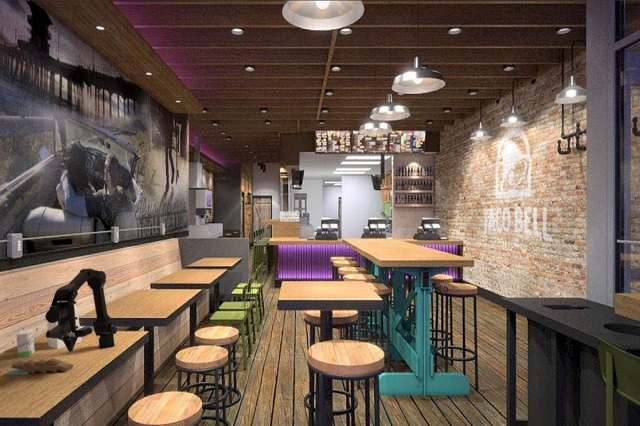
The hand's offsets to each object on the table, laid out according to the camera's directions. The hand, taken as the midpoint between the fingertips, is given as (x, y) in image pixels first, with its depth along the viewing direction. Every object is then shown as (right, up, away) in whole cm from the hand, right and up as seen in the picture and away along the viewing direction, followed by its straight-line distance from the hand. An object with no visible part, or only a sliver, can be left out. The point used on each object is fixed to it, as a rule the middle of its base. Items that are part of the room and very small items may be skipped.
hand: (70, 351), depth 183 cm
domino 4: (-5, -8, 0) cm, 9 cm away
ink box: (-38, -10, +26) cm, 47 cm away
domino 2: (-15, -8, 0) cm, 17 cm away
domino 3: (-9, -8, 0) cm, 12 cm away
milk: (-27, -9, +40) cm, 50 cm away
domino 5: (0, -7, -1) cm, 7 cm away
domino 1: (-17, -9, 0) cm, 19 cm away
